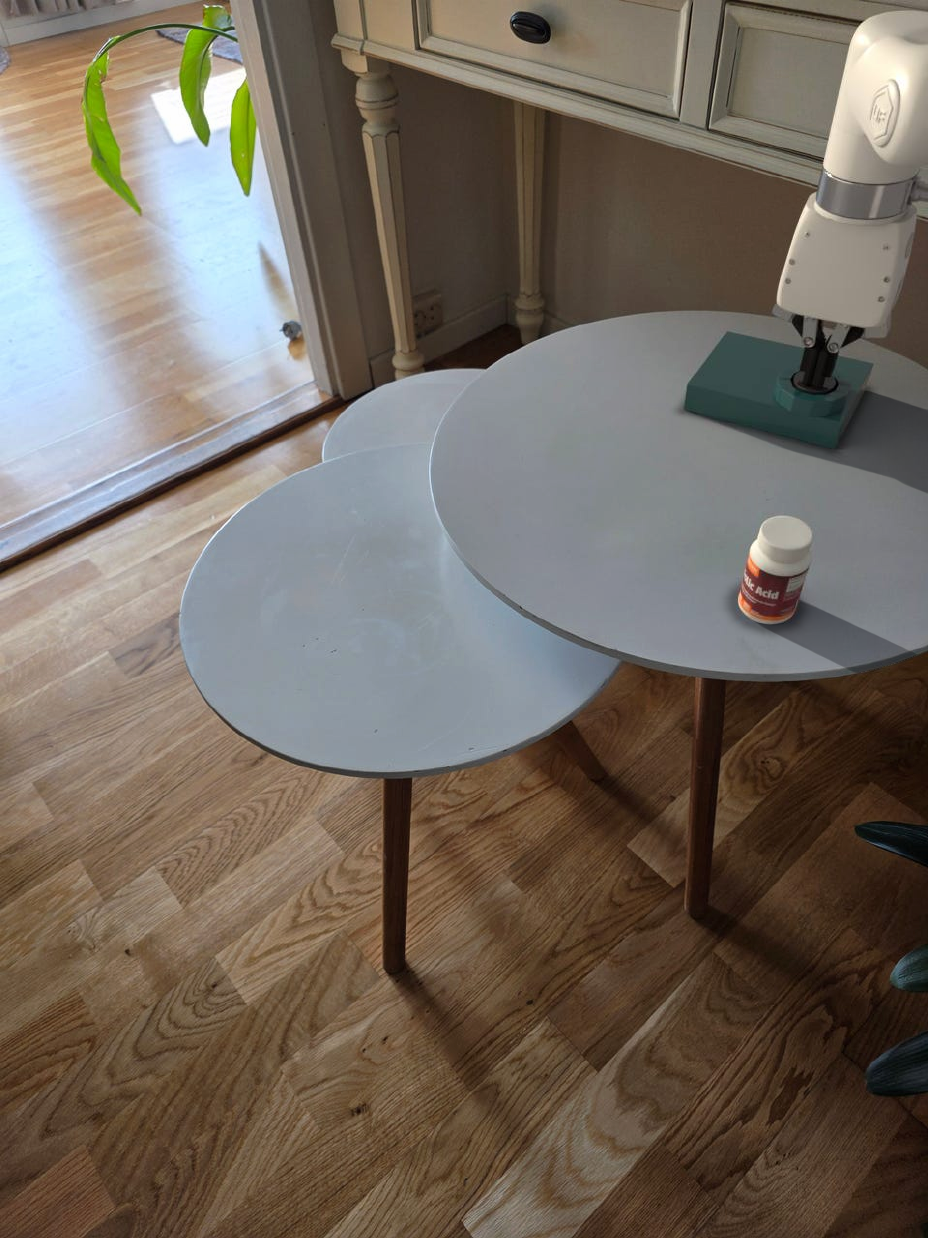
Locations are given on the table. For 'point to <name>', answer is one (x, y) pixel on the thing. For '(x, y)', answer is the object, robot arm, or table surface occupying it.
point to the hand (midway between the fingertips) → (814, 379)
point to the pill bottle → (776, 570)
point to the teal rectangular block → (774, 390)
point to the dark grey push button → (823, 389)
